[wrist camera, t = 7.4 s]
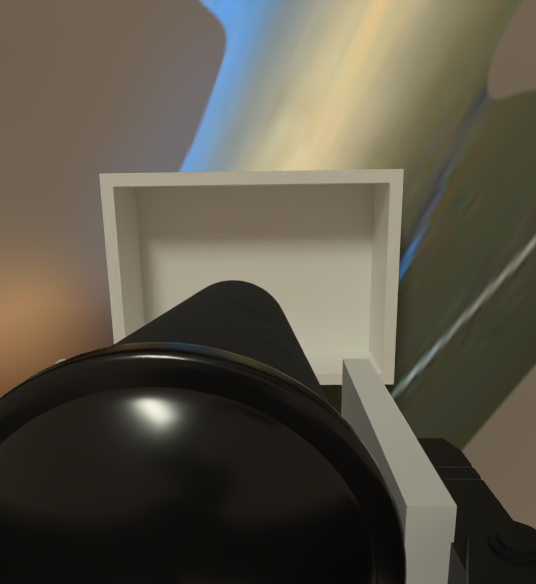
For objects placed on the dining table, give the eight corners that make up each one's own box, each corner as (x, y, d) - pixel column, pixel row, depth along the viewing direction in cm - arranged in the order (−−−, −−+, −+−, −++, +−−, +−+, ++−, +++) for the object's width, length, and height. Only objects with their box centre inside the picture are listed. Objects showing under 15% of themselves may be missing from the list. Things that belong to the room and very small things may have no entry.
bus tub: (383, 173, 43) (403, 169, 36) (376, 356, 46) (393, 384, 40) (127, 177, 43) (99, 173, 36) (140, 358, 47) (117, 386, 40)
